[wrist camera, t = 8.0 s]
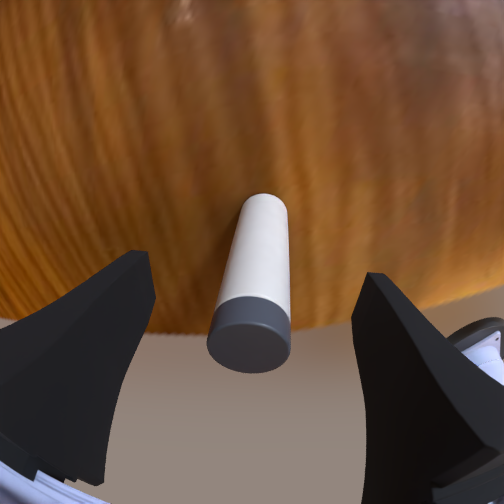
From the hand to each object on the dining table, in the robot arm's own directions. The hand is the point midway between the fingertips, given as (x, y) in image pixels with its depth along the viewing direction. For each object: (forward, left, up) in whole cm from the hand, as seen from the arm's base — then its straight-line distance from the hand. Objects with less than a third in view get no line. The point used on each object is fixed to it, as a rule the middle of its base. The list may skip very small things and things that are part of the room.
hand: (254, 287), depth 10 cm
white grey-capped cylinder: (0, 0, -5) cm, 5 cm away
